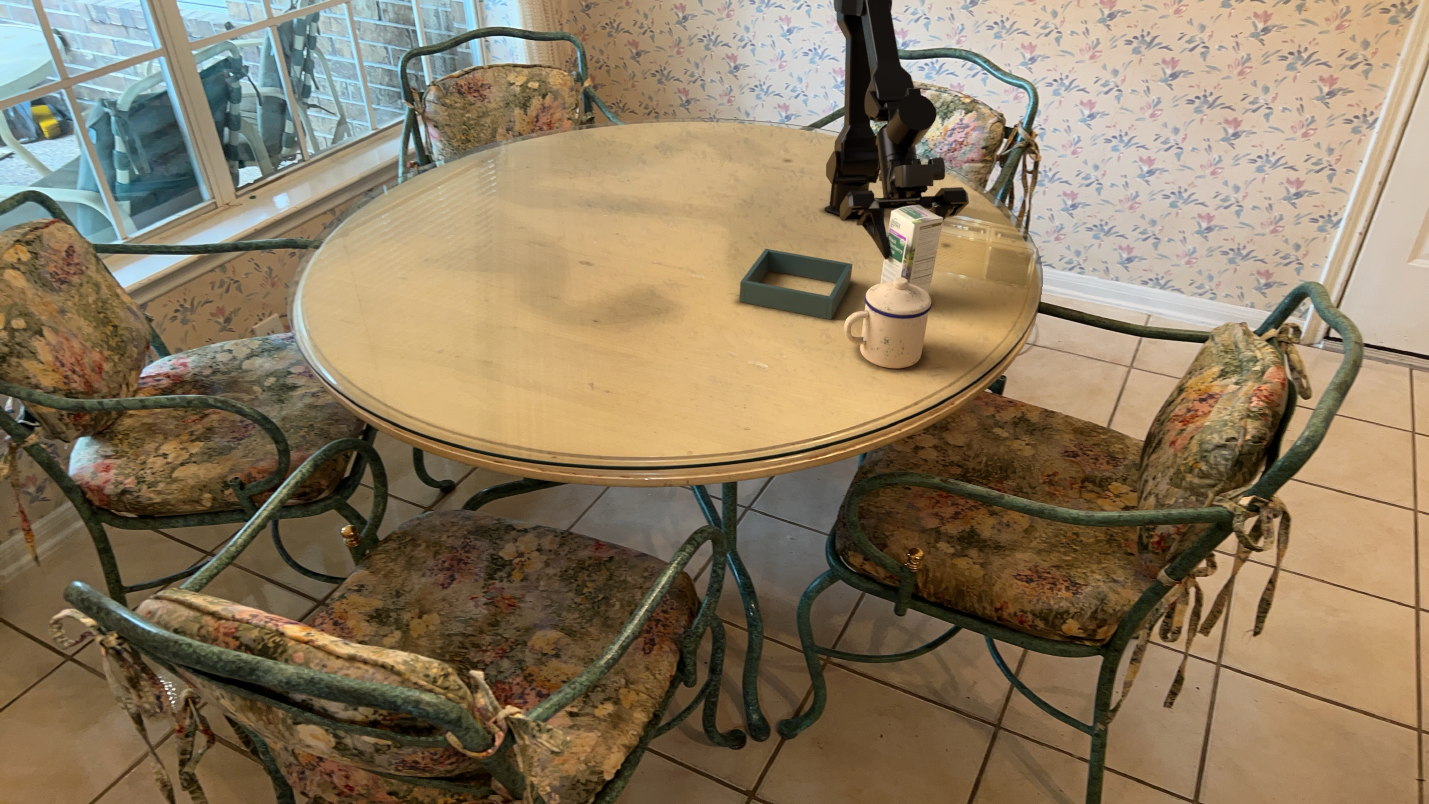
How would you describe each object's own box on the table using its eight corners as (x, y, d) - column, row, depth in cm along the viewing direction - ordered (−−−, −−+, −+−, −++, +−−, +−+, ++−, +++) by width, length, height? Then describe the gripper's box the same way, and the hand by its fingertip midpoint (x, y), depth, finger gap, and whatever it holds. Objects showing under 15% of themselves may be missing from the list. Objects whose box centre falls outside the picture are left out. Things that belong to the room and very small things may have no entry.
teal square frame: (764, 267, 150) (765, 248, 148) (850, 283, 146) (852, 263, 143) (739, 301, 140) (740, 281, 138) (830, 319, 136) (833, 299, 134)
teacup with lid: (906, 333, 133) (917, 261, 126) (933, 366, 126) (947, 292, 119) (829, 343, 130) (837, 270, 124) (853, 377, 123) (862, 302, 116)
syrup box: (876, 295, 142) (888, 209, 134) (906, 287, 145) (919, 202, 136) (899, 311, 138) (913, 224, 130) (929, 303, 141) (945, 216, 132)
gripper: (852, 139, 130) (864, 242, 128) (976, 135, 132) (989, 237, 130) (834, 171, 141) (844, 266, 139) (949, 167, 143) (961, 261, 141)
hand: (909, 257), depth 137 cm, fingers closed on syrup box, 7 cm apart
